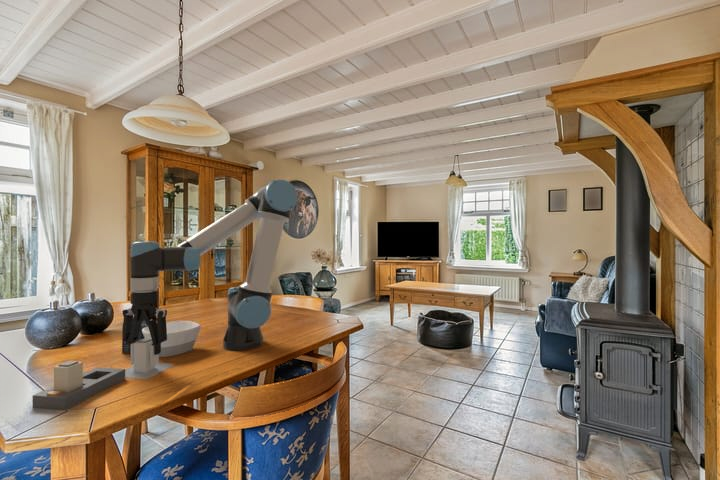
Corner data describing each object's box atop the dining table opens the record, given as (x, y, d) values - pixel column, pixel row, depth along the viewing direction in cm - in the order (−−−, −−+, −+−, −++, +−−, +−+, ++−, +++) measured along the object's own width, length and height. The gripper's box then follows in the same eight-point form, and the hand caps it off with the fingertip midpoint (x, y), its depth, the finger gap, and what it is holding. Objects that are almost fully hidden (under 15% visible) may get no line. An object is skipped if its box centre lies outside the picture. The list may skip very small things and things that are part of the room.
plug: (155, 367, 109) (155, 338, 109) (145, 372, 105) (145, 342, 105) (143, 367, 109) (143, 337, 109) (134, 371, 105) (134, 341, 105)
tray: (175, 365, 112) (175, 363, 112) (147, 380, 100) (148, 378, 100) (142, 363, 114) (142, 361, 114) (111, 378, 102) (111, 376, 102)
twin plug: (82, 396, 89) (82, 360, 89) (67, 403, 85) (67, 366, 85) (69, 395, 90) (69, 359, 90) (54, 402, 86) (53, 365, 86)
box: (122, 355, 122) (122, 325, 121) (122, 350, 126) (122, 322, 126) (147, 351, 126) (147, 322, 126) (147, 347, 131) (147, 319, 130)
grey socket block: (125, 380, 100) (125, 367, 100) (64, 412, 82) (64, 395, 82) (98, 379, 101) (98, 365, 101) (32, 409, 83) (32, 393, 83)
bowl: (159, 364, 113) (159, 336, 113) (133, 354, 122) (133, 328, 122) (208, 349, 128) (208, 324, 128) (181, 341, 138) (181, 318, 137)
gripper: (180, 289, 109) (180, 361, 109) (127, 288, 112) (127, 358, 112) (164, 293, 102) (164, 370, 102) (107, 291, 104) (107, 366, 104)
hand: (144, 363), depth 107 cm, fingers open, 6 cm apart
